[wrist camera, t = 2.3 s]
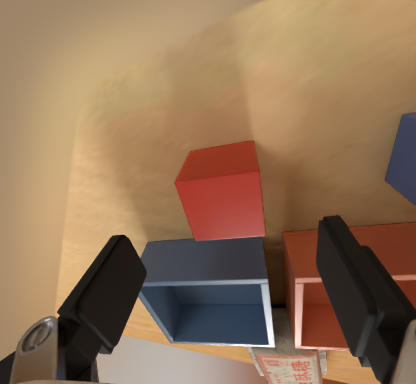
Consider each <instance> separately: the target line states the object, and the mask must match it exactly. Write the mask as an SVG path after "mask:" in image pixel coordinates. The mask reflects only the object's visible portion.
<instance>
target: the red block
mask: <svg viewBox="0 0 416 384" xmlns="http://www.w3.org/2000/svg"><path fill="white" fill-rule="evenodd" d="M175 185H176V188H177V191H178V194H179V197H180V199H181V202H182V205H183V208H184V211H185V214H186V216H187V219H188V222H189V225H190V228H191V231H192V234H193V236H194V239H195V241H202V240H216V239H230V238H244V237H258V236H266V230H265V219H264V209H263V199H262V189H261V178H260V170H259V165H258V160H257V155H256V150H255V146H254V141H246V142H241V143H235V144H229V145H223V146H217V147H211V148H206V149H200V150H194V151H190V153H189V155H188V157H187V159H186V161H185V163H184V165H183V167H182V169H181V171H180V173H179V175H178V177H177V179H176V181H175Z"/></svg>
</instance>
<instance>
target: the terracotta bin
mask: <svg viewBox="0 0 416 384" xmlns="http://www.w3.org/2000/svg"><path fill="white" fill-rule="evenodd" d="M348 228H349V229H350V231H351V232H352V234H353V235H354V237H355V238H356V240H357V241H358V242H359V244H360V245H367V246H368V247H370V248H371V249H372V251H373V252H374V253H375V255H376V256H377V257H378V259H379V260H380V261H381V263H382V264H383V265H384V267H385V268H386V270H387V271H388V272H389V274H390V275H391V276H392V278H393V279H394V280H395V282H396V283H397V284H398V286H399V287H400V289H401V290H402V291H403V293H404V294H405V295H406V297H407V298H408V299H409V301H410V302H411V303H412V305H413V306H414V307H415V309H416V222H413V223H399V224H386V225H372V226H359V227H348ZM317 239H318V230H305V231H292V232H283V249H284V275H285V302H286V308H287V313H288V318H289V323H290V328H291V333H292V338H293V342H294V347H295V348H296V349H320V350H344V351H350V350H349V347H348V345H347V342H346V340H345V337H344V335H343V332H342V330H341V327H340V325H339V322H338V320H337V317H336V315H335V312H334V310H333V307H332V305H331V302H330V300H329V297H328V295H327V292H326V290H325V287H324V285H323V282H322V280H321V277H320V275H319V272H318V270H317V266H316V253H317Z"/></svg>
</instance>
